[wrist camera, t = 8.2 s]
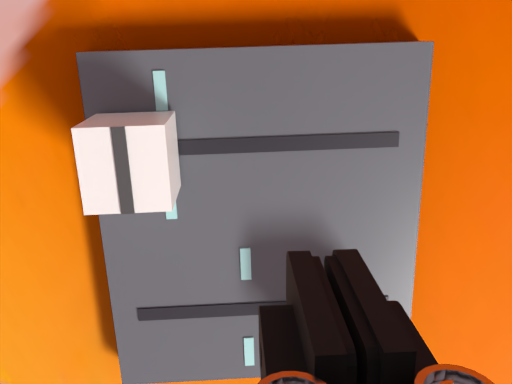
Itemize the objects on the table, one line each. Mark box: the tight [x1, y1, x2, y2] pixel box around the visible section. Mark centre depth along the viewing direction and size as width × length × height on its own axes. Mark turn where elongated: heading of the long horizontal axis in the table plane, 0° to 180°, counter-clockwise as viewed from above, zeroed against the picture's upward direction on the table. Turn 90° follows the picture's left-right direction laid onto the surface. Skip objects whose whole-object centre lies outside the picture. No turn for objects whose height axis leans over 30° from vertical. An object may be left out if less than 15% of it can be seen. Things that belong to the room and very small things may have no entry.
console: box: [76, 41, 434, 384], centre depth 28 cm, size 20×18×2 cm
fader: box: [71, 111, 181, 215], centre depth 23 cm, size 4×4×4 cm
